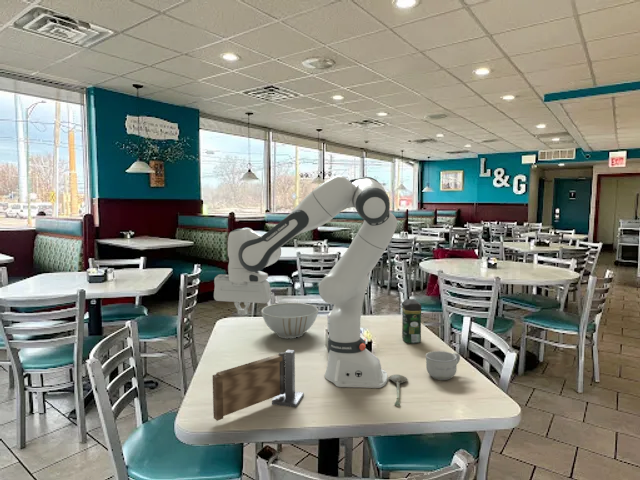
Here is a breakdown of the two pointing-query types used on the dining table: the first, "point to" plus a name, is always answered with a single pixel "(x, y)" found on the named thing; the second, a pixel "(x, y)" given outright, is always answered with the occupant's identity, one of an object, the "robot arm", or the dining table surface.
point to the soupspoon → (398, 380)
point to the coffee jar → (411, 321)
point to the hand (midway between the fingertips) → (242, 314)
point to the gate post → (289, 383)
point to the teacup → (442, 364)
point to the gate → (248, 385)
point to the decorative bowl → (289, 318)
